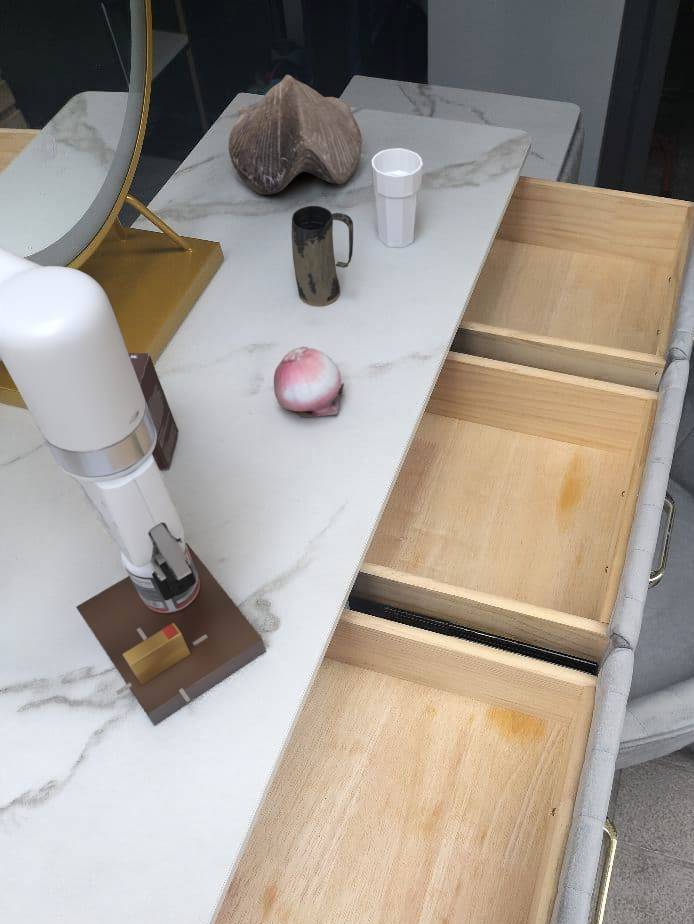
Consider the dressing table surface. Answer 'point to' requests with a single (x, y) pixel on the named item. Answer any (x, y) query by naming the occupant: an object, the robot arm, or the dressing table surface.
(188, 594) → the pill bottle
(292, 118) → the seashell
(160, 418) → the box
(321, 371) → the onion
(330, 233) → the mug
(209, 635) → the panel
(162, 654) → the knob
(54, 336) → the robot arm
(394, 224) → the cup
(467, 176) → the dressing table surface
